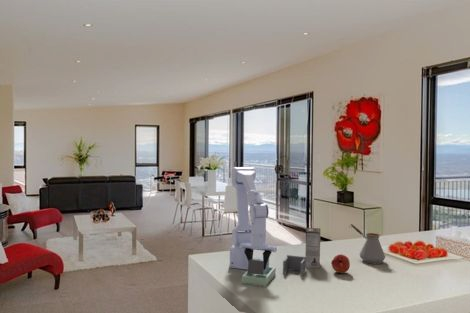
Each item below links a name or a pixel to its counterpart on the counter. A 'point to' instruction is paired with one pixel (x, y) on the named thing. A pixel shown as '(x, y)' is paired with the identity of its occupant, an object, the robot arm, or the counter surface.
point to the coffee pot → (371, 248)
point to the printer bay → (294, 263)
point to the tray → (259, 277)
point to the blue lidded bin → (257, 266)
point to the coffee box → (312, 247)
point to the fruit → (340, 263)
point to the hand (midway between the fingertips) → (257, 268)
